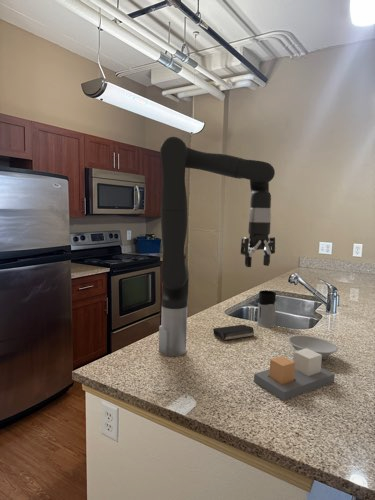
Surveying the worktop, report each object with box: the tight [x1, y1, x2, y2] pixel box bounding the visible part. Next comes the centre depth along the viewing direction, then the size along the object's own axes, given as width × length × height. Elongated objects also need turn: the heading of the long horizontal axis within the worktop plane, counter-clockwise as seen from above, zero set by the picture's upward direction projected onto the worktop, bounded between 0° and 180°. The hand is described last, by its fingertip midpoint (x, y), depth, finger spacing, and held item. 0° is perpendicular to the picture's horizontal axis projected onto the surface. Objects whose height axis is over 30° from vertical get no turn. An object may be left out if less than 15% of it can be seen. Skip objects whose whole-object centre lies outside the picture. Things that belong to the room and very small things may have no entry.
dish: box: [287, 334, 339, 358], centre depth 123 cm, size 18×14×5 cm
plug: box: [269, 355, 295, 385], centre depth 101 cm, size 5×5×8 cm
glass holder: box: [245, 290, 277, 328], centre depth 156 cm, size 9×14×15 cm, turn 95°
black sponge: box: [212, 324, 255, 341], centre depth 142 cm, size 16×8×4 cm, turn 115°
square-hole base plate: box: [253, 348, 336, 401], centre depth 104 cm, size 22×12×8 cm, turn 121°
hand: (257, 266), depth 122 cm, fingers open, 8 cm apart
